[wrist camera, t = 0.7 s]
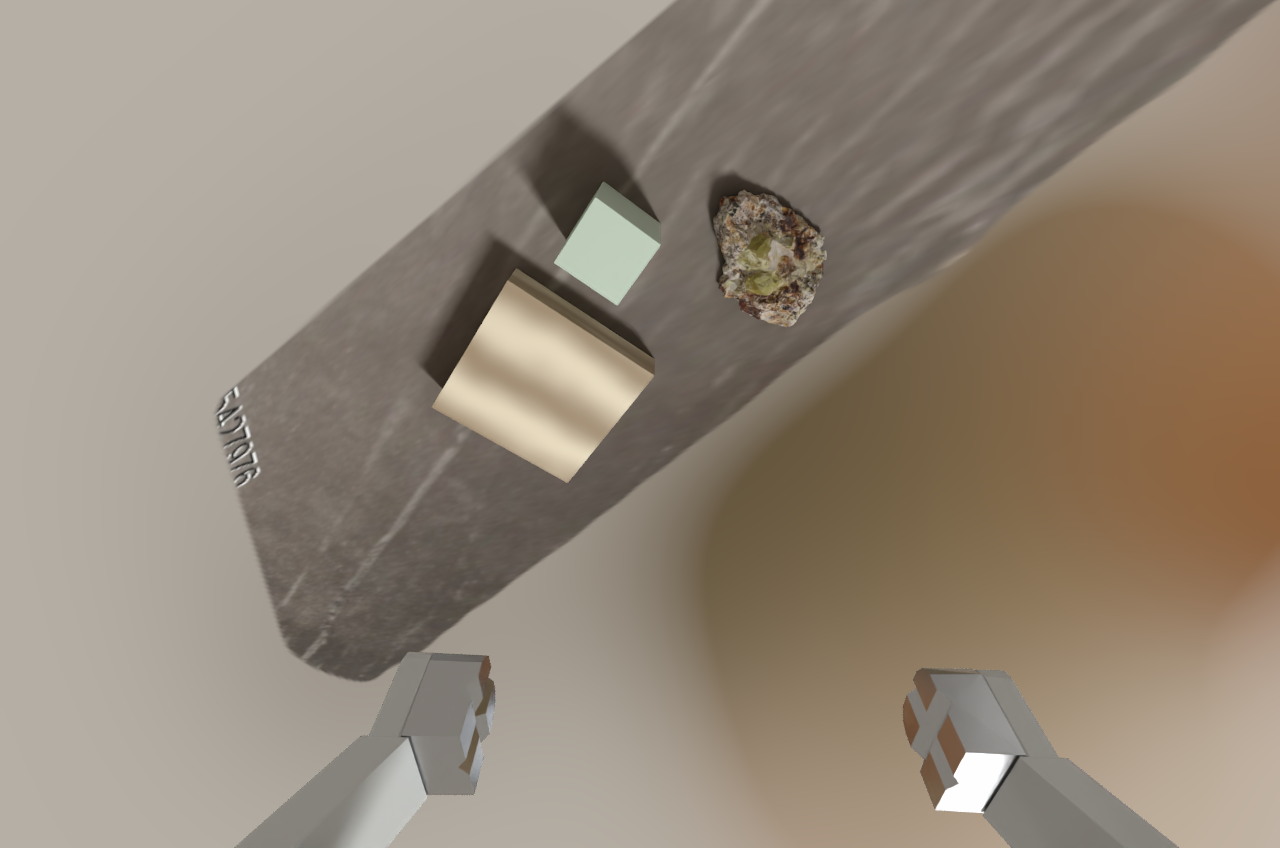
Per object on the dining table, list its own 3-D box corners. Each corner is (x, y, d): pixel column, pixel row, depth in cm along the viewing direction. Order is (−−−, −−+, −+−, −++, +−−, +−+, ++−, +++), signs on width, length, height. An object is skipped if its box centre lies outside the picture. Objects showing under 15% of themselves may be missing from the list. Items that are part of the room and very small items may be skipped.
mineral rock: (860, 286, 42) (770, 353, 43) (831, 279, 46) (749, 340, 47) (789, 153, 38) (690, 229, 39) (764, 158, 42) (675, 227, 43)
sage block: (603, 180, 41) (595, 197, 36) (660, 223, 42) (660, 244, 37) (566, 239, 43) (553, 262, 38) (621, 278, 45) (617, 305, 40)
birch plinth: (516, 267, 44) (507, 280, 42) (654, 359, 48) (654, 375, 45) (443, 390, 50) (431, 407, 47) (571, 463, 54) (567, 482, 51)
